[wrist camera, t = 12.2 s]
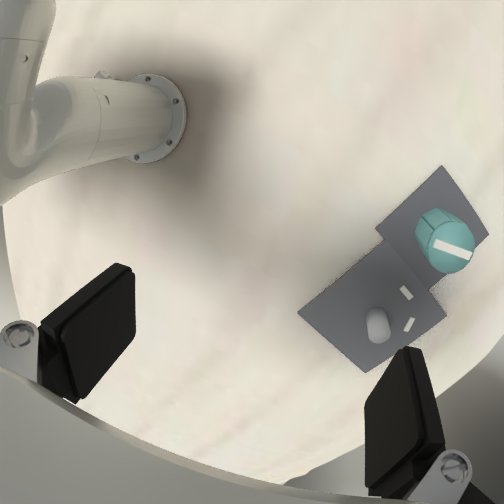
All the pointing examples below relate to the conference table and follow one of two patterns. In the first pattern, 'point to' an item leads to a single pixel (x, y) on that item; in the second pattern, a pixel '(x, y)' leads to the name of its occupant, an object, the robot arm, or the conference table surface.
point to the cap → (445, 240)
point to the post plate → (362, 297)
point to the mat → (409, 212)
